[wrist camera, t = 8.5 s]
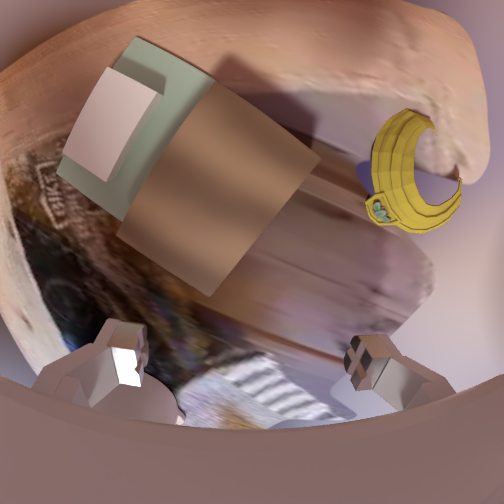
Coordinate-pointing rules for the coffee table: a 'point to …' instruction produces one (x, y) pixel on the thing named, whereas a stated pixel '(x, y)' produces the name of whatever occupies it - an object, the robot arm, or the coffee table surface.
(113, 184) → the mat
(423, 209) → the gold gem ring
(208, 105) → the wooden block
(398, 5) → the coffee table surface
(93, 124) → the tile
